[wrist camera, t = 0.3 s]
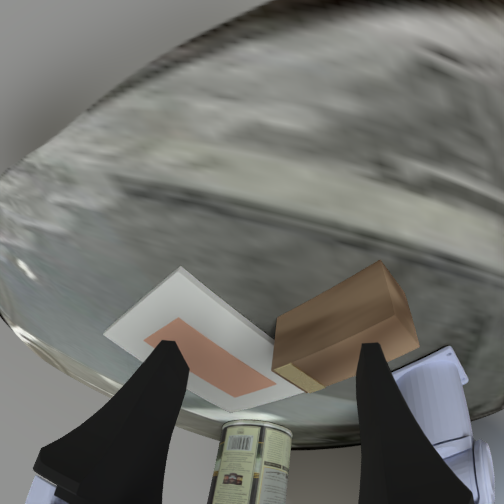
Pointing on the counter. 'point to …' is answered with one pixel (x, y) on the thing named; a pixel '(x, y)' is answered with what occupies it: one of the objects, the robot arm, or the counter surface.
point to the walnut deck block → (343, 329)
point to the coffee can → (251, 464)
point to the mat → (204, 343)
